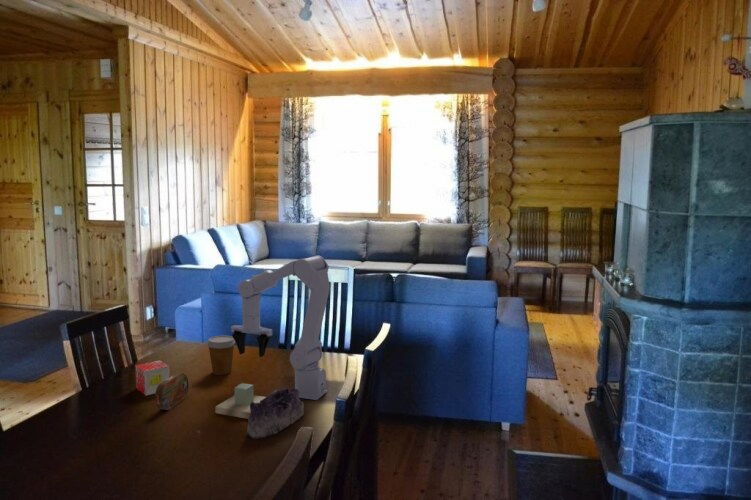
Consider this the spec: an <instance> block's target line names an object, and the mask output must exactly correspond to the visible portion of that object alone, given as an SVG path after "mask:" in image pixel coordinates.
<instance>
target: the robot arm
mask: <svg viewBox="0 0 751 500" xmlns="http://www.w3.org/2000/svg"><path fill="white" fill-rule="evenodd" d="M329 268H330V266H329V264H328V262H327V261H326V260H325V258H324V257H323V256H322V255H321V256H320V255H319V254H318V255H314V256H311V257H306V258H299V259H296V260H291V261H290V262H288V263H287V264H284V265H283V266H281V267H279V268H277V269H276V270H271V269H262V270H261V271H260V273H258V274H255V275H254V274H253V275H252V276H250V279H243V280H241V281H240V282H239V284H238V286H237V288H238V289H237V290H238V291H237V292H238V293H239V295H240V297H241V300H242V301H241V306H242V307H241V308H242V312H241V313H242V324H241V325H238V324H237V325H236V324H235V325H231V326H230V331H231V333H232V334H231V336H232V337H233V338H234V340H235V344H236V347H237V350H238V352H239V355H242V354H245V352H246V336H247V334H250V335H252V334H253V335H259V336H257V337H256V339H257V343H258V355H259V358H262V357H265V355H266V354H265V353H266V350H267V347H268V343H269V341H270V339H271V338H272V336H273V329H272V328H268V327H263V326H261V298H262V294H263V293H264V292H265V291H269V290H270V289H272V288H274V287H276V286H277V285H278V281H280V280H282V279H284V278H287V277H289V276H293V277H295V276H296V277H297V279H299V280H300V282H302V283H303V284H304V286H306V287H307V288H308V289H309V290H310V295H309V298H308V299H309V300H308V303H307V307H306V308H307V309H306V313H305V317H304V320H303V321H304V322H303V327H302V331H301V336H300V338H299V339H298V341H296V343H295V345H294V348H293V350H292V351H291V353H290V356H289V361H290V365H292V367H293V369H294V389H297V390H298V391H299V399H307V400H313V401H318V400H319V399H320V398H321V397H322V396H324V395H325V394H326V393H327V392H328V390H327V373H326V372H327V371H326V370H325V369H324V368H320V367H319V366H318V365H319V361H320V360H321V359H322V357H323V351H322V345H323V343H322V341H321V340H319V338H320V334H321V333H320V332H321V330H322V324H323V321H324V315H325V311H326V308H327V304H328V303H327V302H328V298H329V294H330V287H331V286H330V279H329V278H330V277H329V273H328V272H329Z"/></svg>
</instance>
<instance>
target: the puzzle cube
mask: <svg viewBox="0 0 751 500" xmlns="http://www.w3.org/2000/svg"><path fill="white" fill-rule="evenodd" d="M170 374H171V373H170V365H168V364H166V363H165V362H163V361H162V360H155V361H150V362H145V363H139V364H135V386H136V387H135V388H137V390H138V391H139V392H140V391H141V392H140V393H141V394H142V395H144V396H149V395H153V394H154V395H155V392H156V389H157V387H158V385H159V384H160V383H161V382H163V381H164V380H166V379H167V378H169V377H170V376H171V375H170Z"/></svg>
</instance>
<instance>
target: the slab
mask: <svg viewBox="0 0 751 500" xmlns="http://www.w3.org/2000/svg"><path fill="white" fill-rule="evenodd" d="M266 397H267V396H262V395H261V396H260V395H255V394H254V401H253V402H254V403H260V401H261V400H263V399H264V398H266ZM251 403H252V402H251ZM251 403H250V404H251ZM250 404H249V405H247V406H245V405H238V404H235V394H234V395H233V396H231V397H229V398H228V399H226V400H223V401H222V402H221V403H219V404H218V405H216V406H214V408H215V409H214V410H215V411H214V412H215V414H219V415H225V416H229V417H230V416H231V417H235V418H241V419H248V418H249V416H250V415H251V411H250Z"/></svg>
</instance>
